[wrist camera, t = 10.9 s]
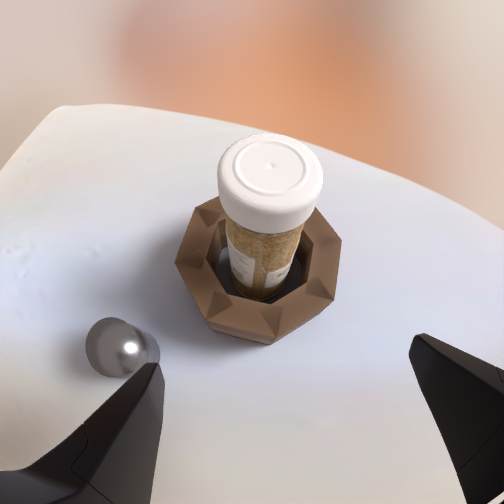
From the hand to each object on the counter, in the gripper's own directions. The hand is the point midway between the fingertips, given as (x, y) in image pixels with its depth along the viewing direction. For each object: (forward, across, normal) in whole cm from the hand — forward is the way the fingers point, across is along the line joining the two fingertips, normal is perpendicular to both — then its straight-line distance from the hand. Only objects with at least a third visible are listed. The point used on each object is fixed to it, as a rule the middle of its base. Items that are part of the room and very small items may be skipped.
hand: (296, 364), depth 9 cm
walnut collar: (+15, 0, +4) cm, 15 cm away
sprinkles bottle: (+15, 0, +4) cm, 15 cm away
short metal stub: (+10, +10, +8) cm, 17 cm away
